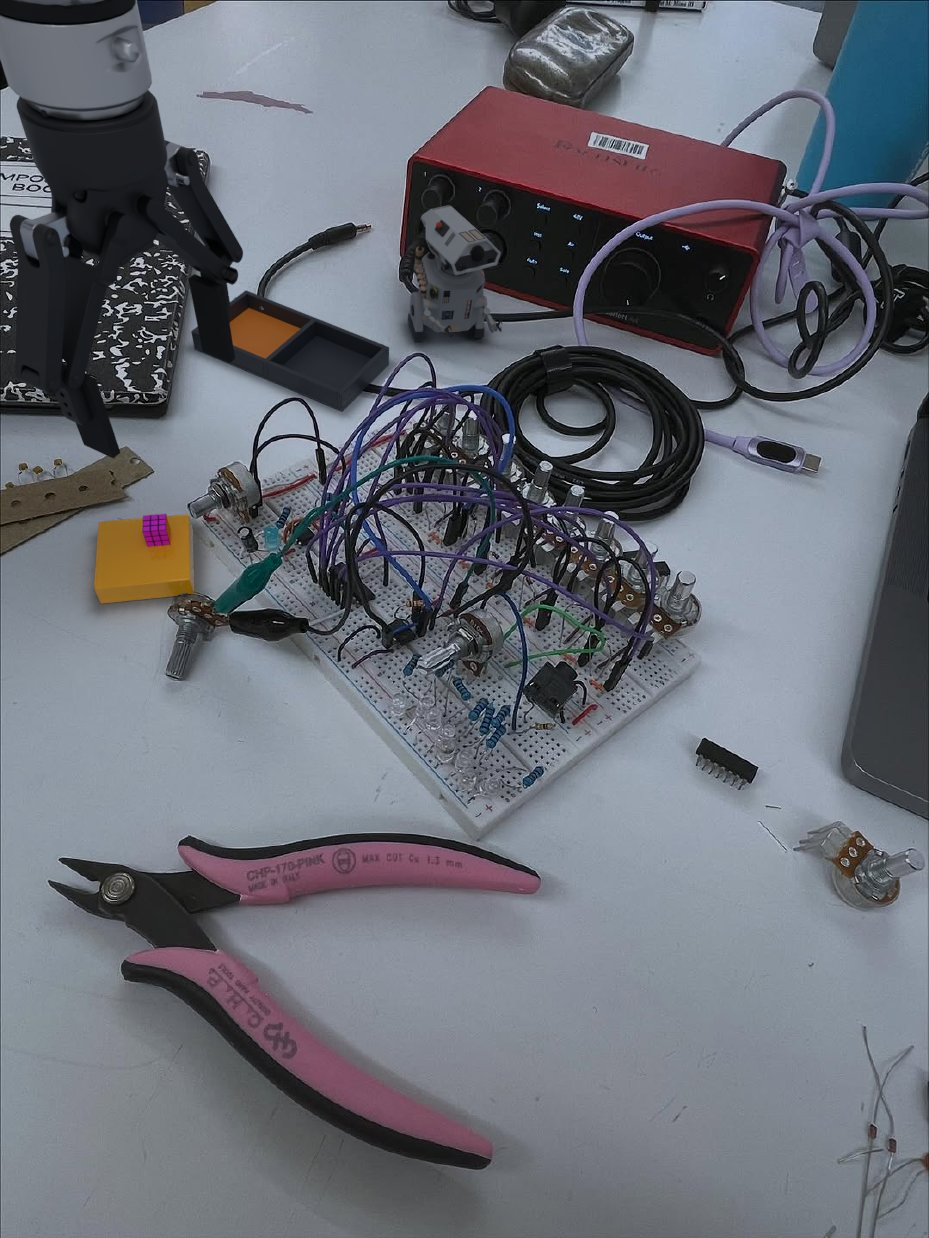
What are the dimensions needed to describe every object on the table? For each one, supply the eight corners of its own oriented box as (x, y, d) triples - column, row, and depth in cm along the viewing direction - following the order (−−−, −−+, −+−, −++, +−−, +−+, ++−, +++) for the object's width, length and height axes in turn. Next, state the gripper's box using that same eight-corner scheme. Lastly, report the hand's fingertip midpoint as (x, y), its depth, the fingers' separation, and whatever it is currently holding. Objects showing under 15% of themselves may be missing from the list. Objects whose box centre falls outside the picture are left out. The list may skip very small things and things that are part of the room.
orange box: (194, 594, 71) (185, 564, 68) (100, 604, 70) (86, 573, 66) (193, 530, 76) (184, 498, 72) (104, 537, 74) (92, 505, 71)
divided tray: (194, 349, 92) (190, 331, 90) (248, 307, 98) (245, 290, 96) (342, 411, 88) (341, 394, 86) (389, 364, 94) (389, 347, 92)
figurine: (423, 372, 94) (431, 251, 82) (405, 316, 100) (410, 196, 88) (496, 368, 96) (514, 248, 84) (474, 313, 102) (488, 195, 90)
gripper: (-45, 199, 37) (86, 516, 54) (271, 48, 51) (296, 337, 68) (-163, 151, 38) (2, 475, 55) (176, 17, 52) (224, 308, 69)
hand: (164, 399), depth 61 cm, fingers open, 13 cm apart
